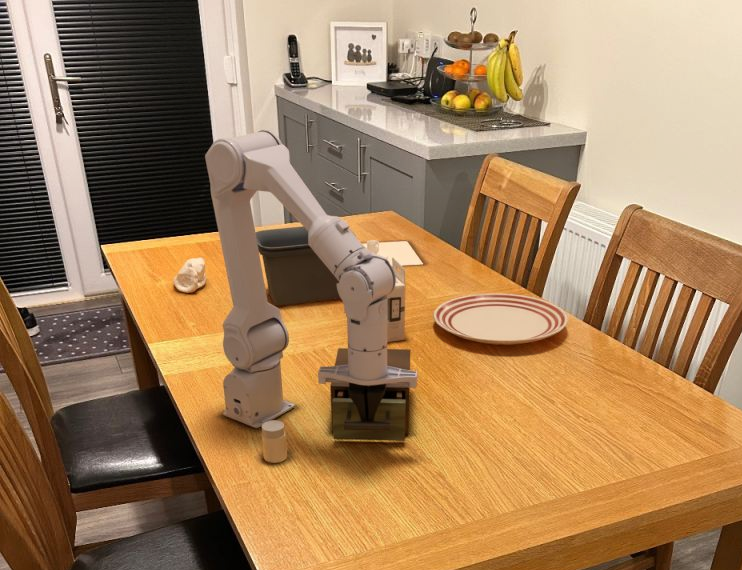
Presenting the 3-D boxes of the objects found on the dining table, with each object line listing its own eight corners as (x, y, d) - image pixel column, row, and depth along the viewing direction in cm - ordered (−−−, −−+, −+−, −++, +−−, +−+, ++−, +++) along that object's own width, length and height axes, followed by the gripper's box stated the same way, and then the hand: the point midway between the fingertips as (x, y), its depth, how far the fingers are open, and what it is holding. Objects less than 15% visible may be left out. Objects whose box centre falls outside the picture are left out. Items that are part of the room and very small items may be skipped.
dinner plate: (405, 325, 167) (406, 310, 165) (495, 295, 182) (497, 281, 180) (502, 368, 149) (504, 352, 147) (593, 332, 164) (596, 316, 162)
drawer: (404, 456, 121) (404, 417, 117) (330, 455, 121) (329, 416, 118) (405, 401, 136) (406, 365, 133) (340, 399, 137) (339, 364, 133)
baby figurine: (193, 275, 194) (210, 248, 190) (207, 308, 188) (225, 281, 183) (161, 266, 188) (177, 238, 183) (175, 300, 182) (192, 271, 177)
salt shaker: (276, 465, 120) (273, 433, 117) (258, 458, 122) (255, 426, 119) (292, 455, 123) (289, 424, 120) (274, 448, 125) (272, 417, 122)
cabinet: (408, 433, 128) (409, 387, 124) (332, 432, 129) (330, 385, 124) (409, 393, 141) (410, 349, 136) (339, 391, 141) (338, 348, 137)
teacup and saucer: (354, 252, 208) (354, 237, 206) (384, 251, 210) (384, 235, 207) (359, 263, 201) (359, 247, 199) (390, 261, 202) (390, 245, 200)
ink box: (369, 327, 166) (369, 258, 158) (392, 325, 167) (393, 255, 159) (381, 343, 159) (382, 271, 151) (405, 340, 160) (406, 269, 152)
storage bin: (265, 312, 173) (260, 247, 165) (254, 289, 185) (248, 227, 178) (360, 302, 178) (359, 238, 170) (343, 280, 191) (341, 219, 183)
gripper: (419, 334, 117) (417, 416, 124) (322, 330, 118) (326, 411, 126) (416, 354, 111) (414, 438, 118) (313, 350, 112) (318, 433, 120)
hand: (368, 426), depth 122 cm, fingers closed, pressing on drawer
